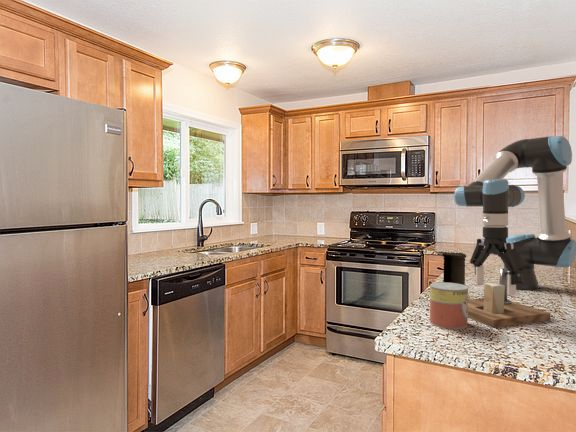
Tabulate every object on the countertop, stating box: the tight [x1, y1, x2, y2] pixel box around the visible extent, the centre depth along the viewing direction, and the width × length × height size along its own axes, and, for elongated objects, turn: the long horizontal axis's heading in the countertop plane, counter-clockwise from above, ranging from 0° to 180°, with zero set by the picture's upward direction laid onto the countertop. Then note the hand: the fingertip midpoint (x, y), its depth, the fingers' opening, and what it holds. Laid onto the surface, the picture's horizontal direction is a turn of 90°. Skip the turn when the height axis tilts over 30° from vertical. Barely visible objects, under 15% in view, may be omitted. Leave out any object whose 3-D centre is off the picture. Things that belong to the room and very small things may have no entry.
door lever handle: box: [499, 267, 520, 304], centre depth 142 cm, size 5×8×12 cm, turn 17°
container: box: [442, 252, 467, 285], centre depth 158 cm, size 9×9×18 cm
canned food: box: [429, 281, 469, 330], centre depth 129 cm, size 11×11×12 cm
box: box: [483, 282, 505, 314], centre depth 135 cm, size 5×4×11 cm
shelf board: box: [468, 297, 551, 329], centre depth 138 cm, size 23×22×2 cm
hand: (494, 289), depth 135 cm, fingers open, 13 cm apart
